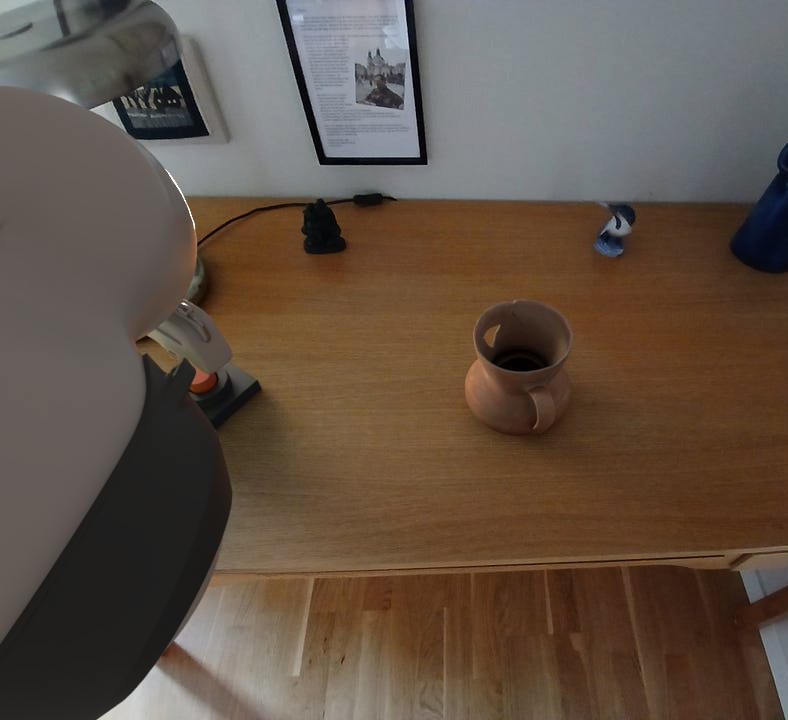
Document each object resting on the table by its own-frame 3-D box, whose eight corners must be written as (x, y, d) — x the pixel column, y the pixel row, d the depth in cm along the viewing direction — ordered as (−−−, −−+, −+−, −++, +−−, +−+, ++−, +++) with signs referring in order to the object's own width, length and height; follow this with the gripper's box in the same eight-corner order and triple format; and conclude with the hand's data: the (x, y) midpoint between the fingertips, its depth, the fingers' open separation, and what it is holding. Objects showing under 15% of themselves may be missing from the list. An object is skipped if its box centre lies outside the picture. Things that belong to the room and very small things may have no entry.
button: (201, 398, 74) (195, 388, 72) (183, 385, 75) (177, 376, 73) (222, 380, 75) (217, 370, 74) (205, 368, 77) (199, 359, 75)
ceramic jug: (452, 365, 82) (449, 295, 71) (545, 347, 85) (556, 277, 74) (483, 471, 71) (485, 408, 60) (589, 447, 73) (610, 382, 63)
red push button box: (205, 439, 74) (193, 422, 71) (161, 408, 77) (148, 390, 74) (262, 389, 79) (253, 371, 76) (219, 361, 82) (209, 343, 79)
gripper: (222, 297, 59) (260, 378, 69) (104, 229, 65) (155, 312, 76) (171, 334, 55) (219, 413, 66) (52, 258, 62) (113, 340, 73)
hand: (184, 358), depth 71 cm, fingers closed
